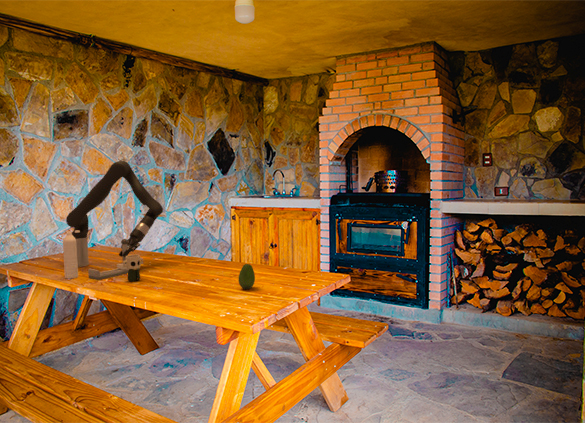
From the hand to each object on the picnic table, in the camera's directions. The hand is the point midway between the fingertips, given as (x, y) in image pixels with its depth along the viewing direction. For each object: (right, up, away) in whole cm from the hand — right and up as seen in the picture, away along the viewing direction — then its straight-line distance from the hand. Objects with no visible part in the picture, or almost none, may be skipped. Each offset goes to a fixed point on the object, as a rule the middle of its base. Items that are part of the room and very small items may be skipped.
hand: (122, 256), depth 239 cm
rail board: (-3, -10, -3) cm, 11 cm away
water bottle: (-23, -11, -8) cm, 27 cm away
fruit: (+74, -12, -36) cm, 83 cm away
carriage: (+1, -7, +2) cm, 7 cm away
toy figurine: (+13, -11, -17) cm, 24 cm away
